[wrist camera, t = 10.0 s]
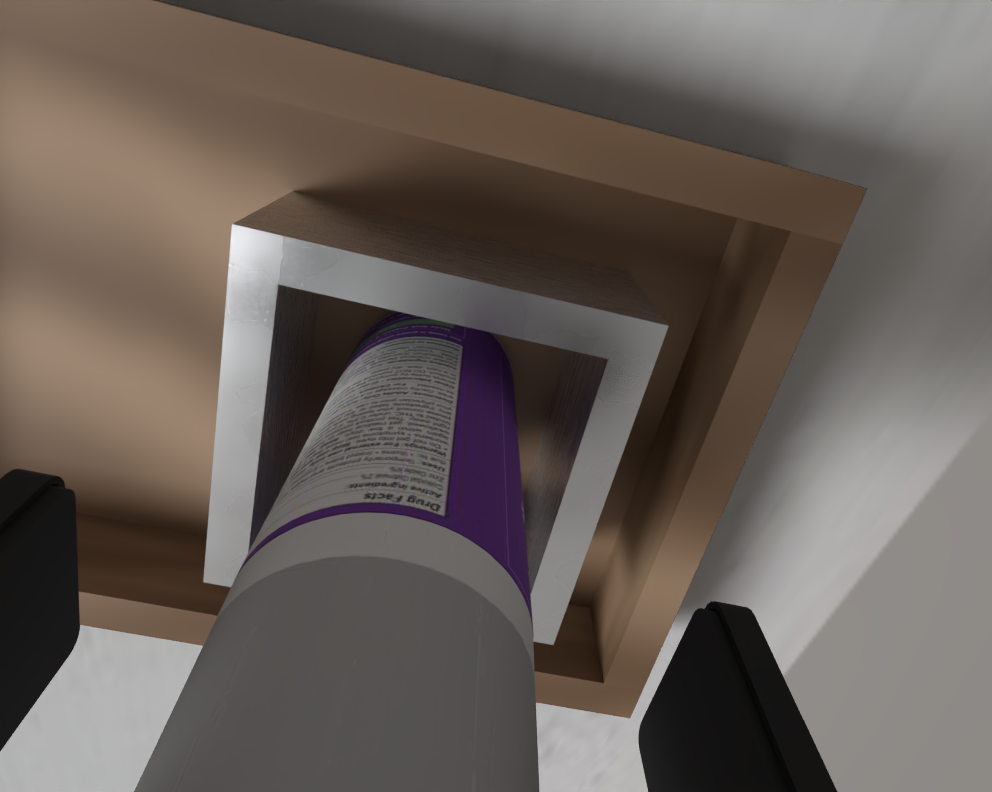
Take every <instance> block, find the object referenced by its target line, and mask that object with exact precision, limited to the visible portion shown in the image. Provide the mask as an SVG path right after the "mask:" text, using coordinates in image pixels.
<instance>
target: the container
mask: <svg viewBox="0 0 992 792" xmlns="http://www.w3.org/2000/svg"><path fill="white" fill-rule="evenodd" d="M533 637H534V634H533V621H532V608H531V595H530V583H529V570H528V557H527V544H526V532H525V519H524V506H523V494H522V481H521V468H520V455H519V443H518V430H517V417H516V404H515V392H514V379H513V372H512V366H511V362H510V359H509V356H508V353H507V351H506V349H505V347H504V345H503V343H502V342H501V340H500V339H499V337H498V336H497V335H496V334H495V333H491V332H487V331H482V330H478V329H473V328H469V327H465V326H460V325H456V324H451V323H447V322H442V321H438V320H434V319H429V318H425V317H420V316H416V315H411V314H407V313H403V312H398V311H394V310H393V311H391V312H389V313H387V314H386V315H384V316H383V317H381V318H380V319H379V320H377V321H376V322H375V323H374V324H373V325H372V326H371V327H370V328H369V329H368V330H367V331H366V332H365V334H364V335H363V336H362V338H361V340H360V341H359V343H358V345H357V346H356V348H355V350H354V352H353V353H352V355H351V357H350V359H349V361H348V363H347V365H346V367H345V369H344V371H343V373H342V375H341V376H340V378H339V380H338V382H337V384H336V386H335V388H334V390H333V392H332V394H331V396H330V398H329V399H328V401H327V403H326V405H325V407H324V409H323V411H322V413H321V415H320V417H319V419H318V421H317V422H316V424H315V426H314V428H313V430H312V432H311V434H310V436H309V438H308V440H307V442H306V444H305V445H304V447H303V449H302V451H301V453H300V455H299V457H298V459H297V461H296V463H295V465H294V467H293V468H292V470H291V472H290V474H289V476H288V478H287V480H286V482H285V484H284V486H283V488H282V490H281V491H280V493H279V495H278V497H277V499H276V501H275V503H274V505H273V507H272V509H271V511H270V512H269V514H268V516H267V518H266V520H265V522H264V524H263V526H262V528H261V530H260V532H259V534H258V535H257V537H256V539H255V541H254V543H253V545H252V547H251V549H250V551H249V553H248V555H247V557H246V558H245V560H244V562H243V564H242V566H241V568H240V570H239V572H238V574H237V576H236V578H235V580H234V582H233V584H232V586H231V588H230V591H229V593H228V595H227V597H226V599H225V601H224V604H223V606H222V608H221V610H220V612H219V614H218V616H217V618H216V620H215V623H214V625H213V627H212V629H211V631H210V633H209V635H208V637H207V639H206V642H205V644H204V646H203V648H202V650H201V652H200V654H199V656H198V658H197V661H196V663H195V665H194V667H193V669H192V671H191V673H190V675H189V677H188V679H187V682H186V684H185V686H184V688H183V690H182V692H181V694H180V696H179V698H178V701H177V703H176V705H175V707H174V709H173V711H172V713H171V715H170V717H169V719H168V722H167V724H166V726H165V728H164V730H163V732H162V734H161V736H160V738H159V741H158V743H157V745H156V747H155V749H154V751H153V753H152V755H151V757H150V759H149V762H148V764H147V766H146V768H145V770H144V772H143V774H142V776H141V778H140V781H139V783H138V785H137V787H136V789H135V791H134V792H539V774H538V749H537V724H536V699H535V673H534V645H533Z"/></svg>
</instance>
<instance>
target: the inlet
mask: <svg viewBox="0 0 992 792" xmlns="http://www.w3.org/2000/svg"><path fill="white" fill-rule="evenodd" d="M319 294H323V295H327V296H332V297H336V298H341V299H345V300H349V301H354V302H358V303H363V304H367V305H372V306H376V307H380V308H385V309H389V310H394V311H398V312H403V313H407V314H411V315H416V316H420V317H425V318H429V319H434V320H438V321H442V322H447V323H451V324H456V325H460V326H465V327H469V328H473V329H478V330H482V331H487V332H491V333H496V334H500V335H504V336H509V337H513V338H518V339H522V340H527V341H531V342H535V343H540V344H544V345H549V346H553V347H558V348H562V349H566V350H567V353H566V356H565V360H564V363H563V366H562V369H561V373H560V376H559V379H558V383H557V386H556V389H555V393H554V396H553V399H552V403H551V406H550V409H549V412H548V416H547V419H546V422H545V426H544V429H543V432H542V436H541V439H540V442H539V446H538V449H537V452H536V456H535V459H534V462H533V465H532V469H531V472H530V475H529V479H528V482H527V485H526V489H525V492H524V495H523V506H524V519H525V532H526V544H527V557H528V570H529V583H530V595H531V608H532V621H533V634H534V637H533V642H539V643H544V644H550V645H554V642H555V639H556V636H557V634H558V631H559V628H560V625H561V623H562V620H563V617H564V614H565V612H566V609H567V606H568V603H569V600H570V598H571V595H572V592H573V589H574V587H575V584H576V581H577V578H578V576H579V573H580V570H581V567H582V564H583V562H584V559H585V556H586V553H587V551H588V548H589V545H590V542H591V540H592V537H593V534H594V531H595V528H596V526H597V523H598V520H599V517H600V515H601V512H602V509H603V506H604V504H605V501H606V498H607V495H608V493H609V490H610V487H611V484H612V481H613V479H614V476H615V473H616V470H617V468H618V465H619V462H620V459H621V457H622V454H623V451H624V448H625V445H626V443H627V440H628V437H629V434H630V432H631V429H632V426H633V423H634V421H635V418H636V415H637V412H638V410H639V407H640V404H641V401H642V398H643V396H644V393H645V390H646V387H647V385H648V382H649V379H650V376H651V374H652V371H653V368H654V365H655V362H656V360H657V357H658V354H659V351H660V349H661V346H662V343H663V340H664V338H665V335H666V332H667V329H668V324H667V323H666V321H665V320H664V319H663V317H662V316H661V315H660V313H659V312H658V310H657V309H656V308H655V306H654V305H653V304H652V302H651V301H650V300H649V298H648V297H647V295H646V294H645V293H644V291H643V290H642V289H641V287H640V286H639V284H638V283H637V282H636V280H635V279H634V278H633V276H632V275H631V274H630V272H628V271H624V270H620V269H615V268H611V267H607V266H603V265H599V264H595V263H590V262H586V261H582V260H578V259H574V258H570V257H565V256H561V255H557V254H553V253H549V252H545V251H540V250H536V249H532V248H528V247H524V246H520V245H515V244H511V243H507V242H503V241H499V240H495V239H490V238H486V237H482V236H478V235H474V234H470V233H465V232H461V231H457V230H453V229H449V228H445V227H440V226H436V225H432V224H428V223H424V222H420V221H415V220H411V219H407V218H403V217H399V216H395V215H390V214H386V213H382V212H378V211H374V210H370V209H365V208H361V207H357V206H353V205H349V204H345V203H340V202H336V201H332V200H328V199H324V198H320V197H315V196H311V195H307V194H303V193H299V192H295V191H292V192H290V193H288V194H286V195H285V196H283V197H281V198H279V199H277V200H275V201H274V202H272V203H270V204H268V205H266V206H264V207H262V208H261V209H259V210H257V211H255V212H253V213H251V214H250V215H248V216H246V217H244V218H242V219H240V220H239V221H237V222H235V223H233V224H232V231H231V243H230V256H229V268H228V281H227V293H226V305H225V318H224V330H223V343H222V355H221V368H220V380H219V393H218V405H217V417H216V430H215V442H214V455H213V467H212V480H211V492H210V505H209V517H208V529H207V542H206V554H205V567H204V579H203V582H205V583H210V584H216V585H221V586H227V587H231V586H232V584H233V582H234V580H235V578H236V576H237V574H238V572H239V570H240V568H241V566H242V564H243V562H244V560H245V558H246V557H247V555H248V553H249V551H250V549H251V547H252V545H253V543H254V541H255V539H256V537H257V535H258V534H259V532H260V530H261V528H262V526H263V524H264V522H265V520H266V518H267V516H268V514H269V512H270V511H271V509H272V507H273V505H274V503H275V501H276V499H277V497H278V495H279V493H280V491H281V490H282V488H283V486H284V484H285V482H286V480H287V478H288V476H289V474H290V472H291V470H292V468H293V467H294V465H295V463H296V457H297V450H298V443H299V436H300V428H301V421H302V414H303V407H304V399H305V392H306V385H307V377H308V370H309V363H310V356H311V348H312V341H313V334H314V327H315V319H316V312H317V305H318V298H319Z"/></svg>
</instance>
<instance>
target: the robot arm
mask: <svg viewBox="0 0 992 792" xmlns="http://www.w3.org/2000/svg"><path fill="white" fill-rule="evenodd" d="M79 630H80V614H79V584H78V554H77V525H76V498H75V493H74V491H73V490H71V489H67V488H65V483H64V481H63V479H62V478H61V477H59V476H55V475H49V474H44V473H39V472H34V471H28V470H23V469H13V470H11V471H10V472H8V473H6V474H5V475H4V476H3V477H2V478H1V479H0V751H1V750H2V748H3V747H4V745H5V744H6V743H7V741H8V740H9V738H10V737H11V736H12V734H13V733H14V731H15V730H16V729H17V727H18V726H19V724H20V723H21V722H22V720H23V719H24V717H25V716H26V715H27V713H28V712H29V711H30V709H31V708H32V706H33V705H34V704H35V702H36V701H37V699H38V698H39V697H40V695H41V694H42V692H43V691H44V690H45V688H46V687H47V685H48V684H49V683H50V681H51V680H52V678H53V677H54V676H55V674H56V673H57V671H58V670H59V669H60V667H61V666H62V665H63V663H64V662H65V660H66V659H67V658H68V656H69V655H70V653H71V652H72V650H73V648H74V646H75V644H76V641H77V638H78V635H79ZM639 749H640V754H641V758H642V763H643V768H644V773H645V778H646V782H647V787H648V792H837V790H836V788H835V786H834V784H833V782H832V779H831V778H830V775H829V773H828V771H827V769H826V767H825V765H824V762H823V760H822V758H821V756H820V754H819V752H818V750H817V747H816V745H815V743H814V741H813V739H812V737H811V735H810V732H809V730H808V728H807V726H806V724H805V722H804V720H803V718H802V716H801V714H800V712H799V710H798V707H797V705H796V703H795V701H794V699H793V697H792V695H791V692H790V690H789V688H788V686H787V684H786V682H785V680H784V677H783V675H782V673H781V671H780V669H779V667H778V665H777V662H776V660H775V658H774V656H773V654H772V652H771V650H770V647H769V645H768V643H767V641H766V639H765V637H764V635H763V632H762V630H761V628H760V626H759V624H758V622H757V620H756V617H755V615H754V614H753V612H752V611H751V610H750V609H749V608H747V607H742V606H737V605H731V604H726V603H721V602H716V601H714V602H710V603H709V604H707V606H706V608H705V609H702V608H700V609H697V610H696V611H695V612H694V614H693V616H692V618H691V620H690V622H689V624H688V626H687V628H686V630H685V632H684V635H683V637H682V639H681V641H680V643H679V645H678V647H677V649H676V651H675V653H674V655H673V657H672V659H671V662H670V664H669V666H668V668H667V670H666V672H665V674H664V676H663V678H662V680H661V682H660V684H659V686H658V688H657V691H656V693H655V695H654V697H653V699H652V701H651V703H650V705H649V707H648V709H647V711H646V713H645V715H644V717H643V720H642V722H641V725H640V729H639Z"/></svg>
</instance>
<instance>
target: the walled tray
mask: <svg viewBox="0 0 992 792" xmlns="http://www.w3.org/2000/svg"><path fill="white" fill-rule="evenodd" d="M866 190H867V188H863V187H860V186H856V185H853V184H849V183H846V182H842V181H838V180H835V179H831V178H828V177H824V176H821V175H817V174H814V173H810V172H806V171H803V170H799V169H796V168H792V167H788V166H785V165H781V164H777V163H773V162H769V161H766V160H762V159H758V158H754V157H750V156H747V155H743V154H739V153H735V152H731V151H728V150H724V149H720V148H716V147H712V146H709V145H705V144H701V143H697V142H693V141H690V140H686V139H682V138H678V137H674V136H671V135H667V134H663V133H659V132H655V131H652V130H648V129H644V128H640V127H636V126H633V125H629V124H625V123H621V122H617V121H614V120H610V119H606V118H602V117H598V116H595V115H591V114H587V113H583V112H579V111H576V110H572V109H568V108H564V107H560V106H557V105H553V104H549V103H545V102H541V101H538V100H534V99H530V98H526V97H522V96H519V95H515V94H511V93H507V92H503V91H500V90H496V89H492V88H488V87H484V86H481V85H477V84H473V83H469V82H465V81H462V80H458V79H454V78H450V77H446V76H443V75H439V74H435V73H431V72H427V71H424V70H420V69H416V68H412V67H408V66H405V65H401V64H397V63H393V62H389V61H386V60H382V59H378V58H374V57H370V56H367V55H363V54H359V53H355V52H351V51H348V50H344V49H340V48H336V47H332V46H329V45H325V44H321V43H317V42H313V41H310V40H306V39H302V38H298V37H294V36H291V35H287V34H283V33H279V32H275V31H272V30H268V29H264V28H260V27H256V26H253V25H249V24H245V23H241V22H237V21H234V20H230V19H226V18H222V17H218V16H215V15H211V14H207V13H203V12H199V11H196V10H192V9H188V8H184V7H180V6H177V5H173V4H169V3H165V2H161V1H158V0H0V479H1V478H2V477H3V476H4V475H5V474H6V473H8V472H10V471H11V470H13V469H23V470H28V471H34V472H39V473H44V474H49V475H55V476H59V477H61V478H62V479H63V481H64V483H65V488H67V489H71V490H73V491H74V493H75V498H76V525H77V554H78V584H79V614H80V625H85V626H91V627H97V628H103V629H108V630H114V631H120V632H126V633H132V634H138V635H144V636H150V637H155V638H161V639H167V640H173V641H179V642H185V643H191V644H197V645H202V646H204V644H205V642H206V639H207V637H208V635H209V633H210V631H211V629H212V627H213V625H214V623H215V620H216V618H217V616H218V614H219V612H220V610H221V608H222V606H223V604H224V601H225V599H226V597H227V595H228V593H229V591H230V588H231V587H227V586H221V585H216V584H210V583H205V582H203V579H204V567H205V554H206V542H207V529H208V517H209V505H210V492H211V480H212V467H213V455H214V442H215V430H216V417H217V405H218V393H219V380H220V368H221V355H222V343H223V330H224V318H225V305H226V293H227V281H228V268H229V256H230V243H231V231H232V224H233V223H235V222H237V221H239V220H240V219H242V218H244V217H246V216H248V215H250V214H251V213H253V212H255V211H257V210H259V209H261V208H262V207H264V206H266V205H268V204H270V203H272V202H274V201H275V200H277V199H279V198H281V197H283V196H285V195H286V194H288V193H290V192H292V191H295V192H299V193H303V194H307V195H311V196H315V197H320V198H324V199H328V200H332V201H336V202H340V203H345V204H349V205H353V206H357V207H361V208H365V209H370V210H374V211H378V212H382V213H386V214H390V215H395V216H399V217H403V218H407V219H411V220H415V221H420V222H424V223H428V224H432V225H436V226H440V227H445V228H449V229H453V230H457V231H461V232H465V233H470V234H474V235H478V236H482V237H486V238H490V239H495V240H499V241H503V242H507V243H511V244H515V245H520V246H524V247H528V248H532V249H536V250H540V251H545V252H549V253H553V254H557V255H561V256H565V257H570V258H574V259H578V260H582V261H586V262H590V263H595V264H599V265H603V266H607V267H611V268H615V269H620V270H624V271H628V272H630V274H631V275H632V276H633V278H634V279H635V280H636V282H637V283H638V284H639V286H640V287H641V289H642V290H643V291H644V293H645V294H646V295H647V297H648V298H649V300H650V301H651V302H652V304H653V305H654V306H655V308H656V309H657V310H658V312H659V313H660V315H661V316H662V317H663V319H664V320H665V321H666V323H667V324H668V329H667V332H666V335H665V338H664V340H663V343H662V346H661V349H660V351H659V354H658V357H657V360H656V362H655V365H654V368H653V371H652V374H651V376H650V379H649V382H648V385H647V387H646V390H645V393H644V396H643V398H642V401H641V404H640V407H639V410H638V412H637V415H636V418H635V421H634V423H633V426H632V429H631V432H630V434H629V437H628V440H627V443H626V445H625V448H624V451H623V454H622V457H621V459H620V462H619V465H618V468H617V470H616V473H615V476H614V479H613V481H612V484H611V487H610V490H609V493H608V495H607V498H606V501H605V504H604V506H603V509H602V512H601V515H600V517H599V520H598V523H597V526H596V528H595V531H594V534H593V537H592V540H591V542H590V545H589V548H588V551H587V553H586V556H585V559H584V562H583V564H582V567H581V570H580V573H579V576H578V578H577V581H576V584H575V587H574V589H573V592H572V595H571V598H570V600H569V603H568V606H567V609H566V612H565V614H564V617H563V620H562V623H561V625H560V628H559V631H558V634H557V636H556V639H555V642H554V645H550V644H544V643H539V642H533V645H534V673H535V699H536V702H537V703H543V704H549V705H555V706H561V707H567V708H572V709H578V710H584V711H590V712H596V713H602V714H608V715H614V716H619V717H625V718H630V717H631V715H632V713H633V710H634V708H635V706H636V704H637V702H638V699H639V697H640V695H641V693H642V690H643V688H644V686H645V684H646V681H647V679H648V677H649V675H650V673H651V670H652V668H653V666H654V664H655V661H656V659H657V657H658V655H659V652H660V650H661V648H662V646H663V644H664V641H665V639H666V637H667V635H668V632H669V630H670V628H671V626H672V623H673V621H674V619H675V617H676V615H677V612H678V610H679V608H680V606H681V603H682V601H683V599H684V597H685V594H686V592H687V590H688V588H689V585H690V583H691V581H692V579H693V577H694V574H695V572H696V570H697V568H698V565H699V563H700V561H701V559H702V556H703V554H704V552H705V550H706V548H707V545H708V543H709V541H710V539H711V536H712V534H713V532H714V530H715V527H716V525H717V523H718V521H719V519H720V516H721V514H722V512H723V510H724V507H725V505H726V503H727V501H728V498H729V496H730V494H731V492H732V490H733V487H734V485H735V483H736V481H737V478H738V476H739V474H740V472H741V469H742V467H743V465H744V463H745V460H746V458H747V456H748V454H749V452H750V449H751V447H752V445H753V443H754V440H755V438H756V436H757V434H758V431H759V429H760V427H761V425H762V423H763V420H764V418H765V416H766V414H767V411H768V409H769V407H770V405H771V402H772V400H773V398H774V396H775V394H776V391H777V389H778V387H779V385H780V382H781V380H782V378H783V376H784V373H785V371H786V369H787V367H788V364H789V362H790V360H791V358H792V356H793V353H794V351H795V349H796V347H797V344H798V342H799V340H800V338H801V335H802V333H803V331H804V329H805V327H806V324H807V322H808V320H809V318H810V315H811V313H812V311H813V309H814V306H815V304H816V302H817V300H818V298H819V295H820V293H821V291H822V289H823V286H824V284H825V282H826V280H827V277H828V275H829V273H830V271H831V269H832V266H833V264H834V262H835V260H836V257H837V255H838V253H839V251H840V248H841V246H842V244H843V242H844V239H845V237H846V235H847V233H848V231H849V228H850V226H851V224H852V222H853V219H854V217H855V215H856V213H857V210H858V208H859V206H860V204H861V202H862V199H863V197H864V195H865V193H866ZM391 311H393V310H389V309H385V308H380V307H376V306H372V305H367V304H363V303H358V302H354V301H349V300H345V299H341V298H336V297H332V296H327V295H323V294H319V298H318V305H317V312H316V319H315V327H314V334H313V341H312V348H311V356H310V363H309V370H308V377H307V385H306V392H305V399H304V407H303V414H302V421H301V428H300V436H299V443H298V450H297V457H296V461H297V459H298V457H299V455H300V453H301V451H302V449H303V447H304V445H305V444H306V442H307V440H308V438H309V436H310V434H311V432H312V430H313V428H314V426H315V424H316V422H317V421H318V419H319V417H320V415H321V413H322V411H323V409H324V407H325V405H326V403H327V401H328V399H329V398H330V396H331V394H332V392H333V390H334V388H335V386H336V384H337V382H338V380H339V378H340V376H341V375H342V373H343V371H344V369H345V367H346V365H347V363H348V361H349V359H350V357H351V355H352V353H353V352H354V350H355V348H356V346H357V345H358V343H359V341H360V340H361V338H362V336H363V335H364V334H365V332H366V331H367V330H368V329H369V328H370V327H371V326H372V325H373V324H374V323H375V322H376V321H377V320H379V319H380V318H381V317H383V316H384V315H386V314H387V313H389V312H391ZM495 334H496V333H495ZM496 335H497V336H498V337H499V339H500V340H501V342H502V343H503V345H504V347H505V349H506V351H507V353H508V356H509V359H510V362H511V366H512V372H513V379H514V392H515V404H516V417H517V430H518V443H519V455H520V468H521V481H522V494H523V495H524V492H525V489H526V485H527V482H528V479H529V475H530V472H531V469H532V465H533V462H534V459H535V456H536V452H537V449H538V446H539V442H540V439H541V436H542V432H543V429H544V426H545V422H546V419H547V416H548V412H549V409H550V406H551V403H552V399H553V396H554V393H555V389H556V386H557V383H558V379H559V376H560V373H561V369H562V366H563V363H564V360H565V356H566V353H567V350H566V349H562V348H558V347H553V346H549V345H544V344H540V343H535V342H531V341H527V340H522V339H518V338H513V337H509V336H504V335H500V334H496Z"/></svg>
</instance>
